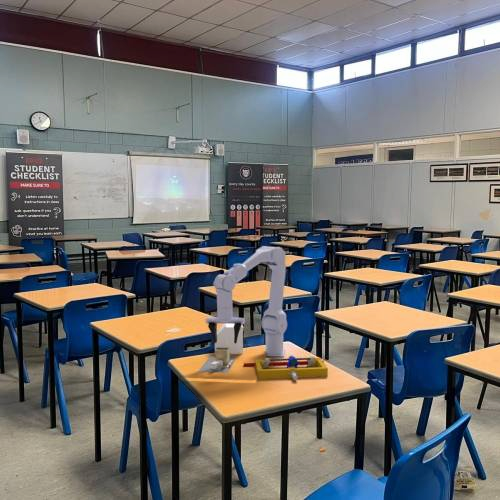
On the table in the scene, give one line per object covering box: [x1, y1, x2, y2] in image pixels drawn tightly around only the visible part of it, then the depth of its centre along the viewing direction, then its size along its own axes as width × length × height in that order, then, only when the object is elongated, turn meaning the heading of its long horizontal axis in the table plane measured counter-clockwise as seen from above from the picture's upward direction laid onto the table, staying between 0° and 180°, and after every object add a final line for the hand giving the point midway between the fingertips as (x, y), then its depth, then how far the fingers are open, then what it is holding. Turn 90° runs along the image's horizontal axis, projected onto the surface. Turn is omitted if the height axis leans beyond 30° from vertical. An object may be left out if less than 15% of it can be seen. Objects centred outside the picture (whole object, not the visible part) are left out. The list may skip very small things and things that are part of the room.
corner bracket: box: [214, 323, 244, 355], centre depth 211 cm, size 11×11×12 cm
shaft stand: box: [197, 350, 237, 374], centre depth 192 cm, size 19×11×4 cm, turn 172°
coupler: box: [214, 347, 231, 367], centre depth 191 cm, size 4×4×6 cm
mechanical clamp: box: [243, 355, 329, 381], centre depth 184 cm, size 18×6×30 cm
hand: (225, 342), depth 192 cm, fingers open, 7 cm apart
